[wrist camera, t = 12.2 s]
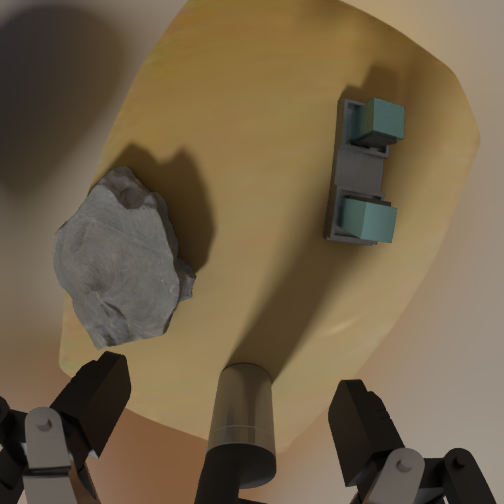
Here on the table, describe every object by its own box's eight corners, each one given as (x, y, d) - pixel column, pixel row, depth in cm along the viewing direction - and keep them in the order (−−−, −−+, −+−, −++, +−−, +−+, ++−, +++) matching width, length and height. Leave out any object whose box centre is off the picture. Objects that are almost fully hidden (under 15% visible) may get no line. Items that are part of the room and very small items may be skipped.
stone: (87, 363, 35) (19, 222, 30) (107, 338, 44) (51, 214, 38) (214, 335, 33) (135, 144, 27) (221, 306, 41) (159, 150, 35)
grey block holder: (366, 242, 38) (398, 261, 28) (323, 237, 38) (344, 254, 28) (380, 113, 33) (414, 96, 23) (337, 101, 33) (362, 78, 23)
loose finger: (370, 198, 35) (398, 203, 27) (365, 230, 36) (391, 243, 28) (344, 194, 34) (367, 197, 27) (339, 227, 36) (360, 238, 28)
